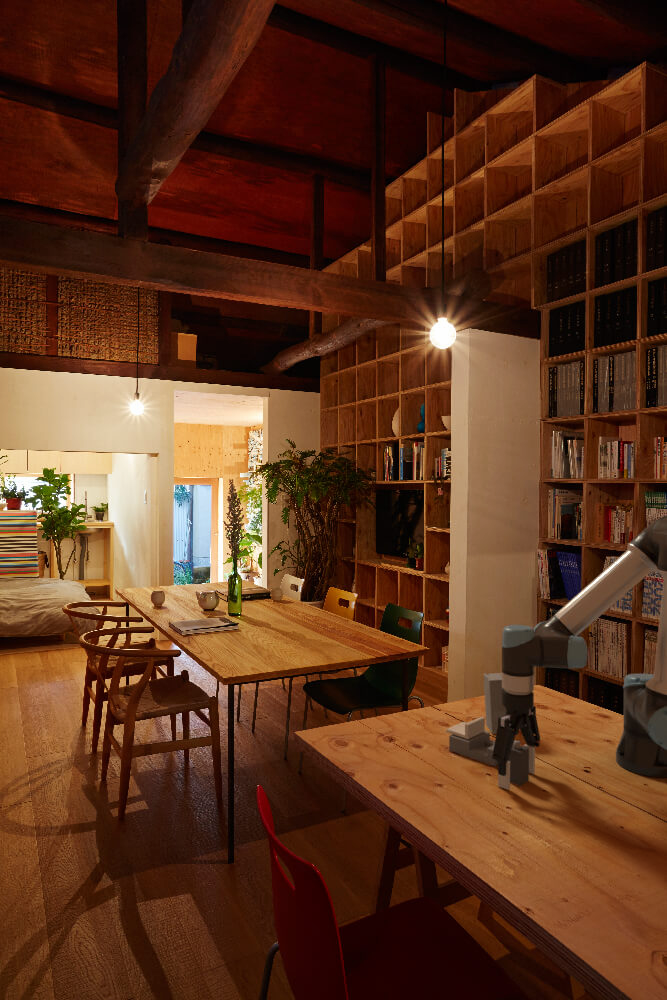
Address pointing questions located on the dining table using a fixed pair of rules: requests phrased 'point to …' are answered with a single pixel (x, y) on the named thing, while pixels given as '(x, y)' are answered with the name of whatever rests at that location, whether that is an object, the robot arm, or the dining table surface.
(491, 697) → the skincare box
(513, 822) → the dining table surface
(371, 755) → the dining table surface
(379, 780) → the dining table surface
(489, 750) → the socket
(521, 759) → the plug
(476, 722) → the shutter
